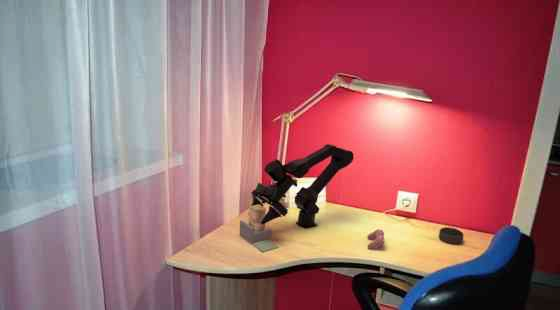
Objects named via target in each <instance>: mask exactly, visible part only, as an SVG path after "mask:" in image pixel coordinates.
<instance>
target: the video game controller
mask: <svg viewBox="0 0 560 310" xmlns="http://www.w3.org/2000/svg"><path fill="white" fill-rule="evenodd" d="M366 238H367V240H369V241H370V240H373V241H370V243H368V244H367V248H368V250H375V249H377V248H378V247H380V246H382V245H383V244H385V231H383V229H379V228H377V229H375V230H374V231H373V232H370V233H369V234H368V235H367V237H366Z"/></svg>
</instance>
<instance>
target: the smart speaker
mask: <svg viewBox="0 0 560 310" xmlns="http://www.w3.org/2000/svg"><path fill="white" fill-rule="evenodd" d="M438 233H439V234H438V238H439V239H440V240H441V242H444V243H447V244H450V245H460V244H462V243H463V241H464V232H462V231H461V230H460V229H457V228H454V227H449V226H448V227H447V226H445V227H441V228H440V229H439V232H438Z"/></svg>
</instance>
